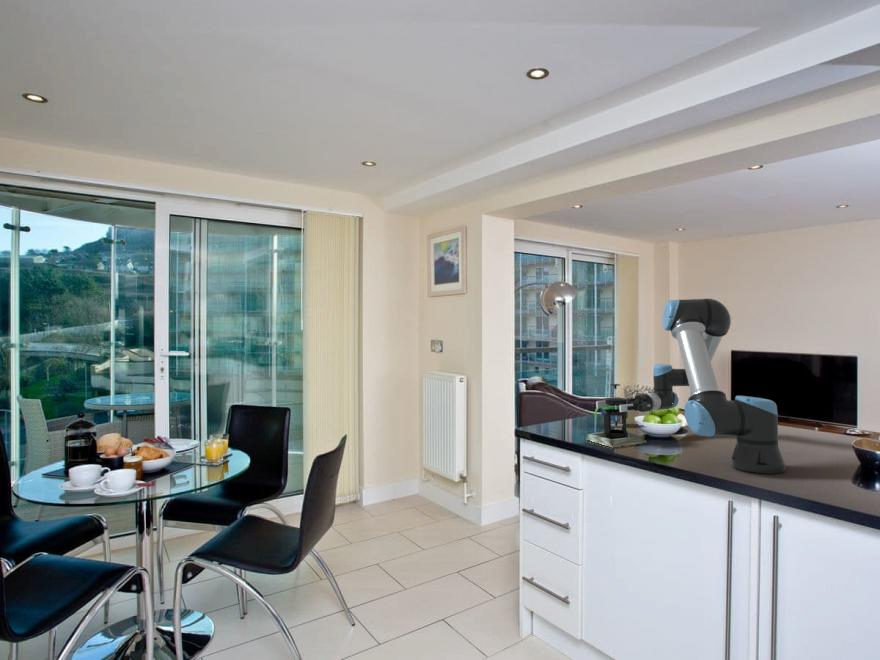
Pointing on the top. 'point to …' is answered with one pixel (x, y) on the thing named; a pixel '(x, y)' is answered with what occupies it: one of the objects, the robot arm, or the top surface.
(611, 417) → the snack cup
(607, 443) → the tray
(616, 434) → the french press
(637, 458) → the top surface
